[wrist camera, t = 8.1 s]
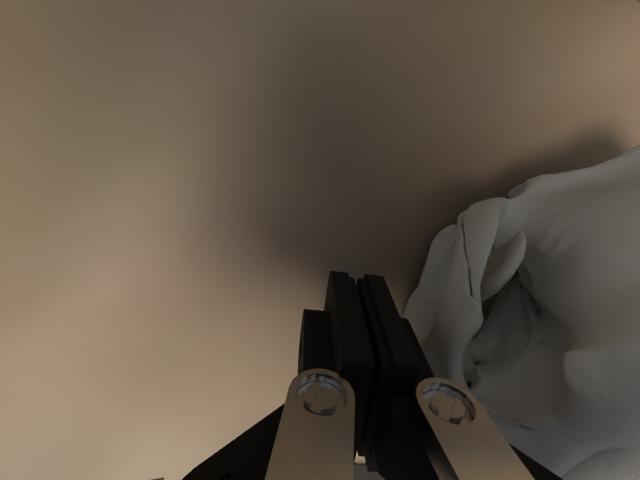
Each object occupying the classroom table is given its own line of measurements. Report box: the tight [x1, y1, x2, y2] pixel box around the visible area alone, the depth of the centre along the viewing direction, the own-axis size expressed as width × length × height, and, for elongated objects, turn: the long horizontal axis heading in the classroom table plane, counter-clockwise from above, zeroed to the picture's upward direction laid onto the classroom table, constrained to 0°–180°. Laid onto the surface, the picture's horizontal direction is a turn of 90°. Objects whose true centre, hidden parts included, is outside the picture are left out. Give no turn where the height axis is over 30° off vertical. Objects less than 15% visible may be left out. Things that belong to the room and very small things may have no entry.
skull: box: [402, 145, 640, 480], centre depth 10 cm, size 8×9×12 cm
